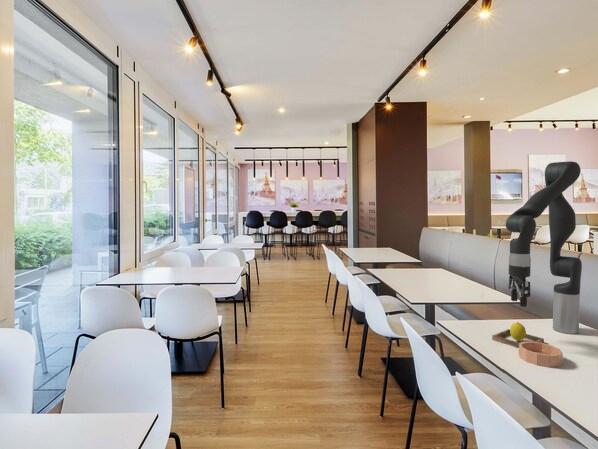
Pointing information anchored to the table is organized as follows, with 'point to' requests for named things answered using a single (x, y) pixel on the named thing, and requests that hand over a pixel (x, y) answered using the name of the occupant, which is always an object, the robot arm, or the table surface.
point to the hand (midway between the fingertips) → (518, 303)
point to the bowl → (540, 354)
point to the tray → (498, 338)
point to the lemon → (517, 331)
